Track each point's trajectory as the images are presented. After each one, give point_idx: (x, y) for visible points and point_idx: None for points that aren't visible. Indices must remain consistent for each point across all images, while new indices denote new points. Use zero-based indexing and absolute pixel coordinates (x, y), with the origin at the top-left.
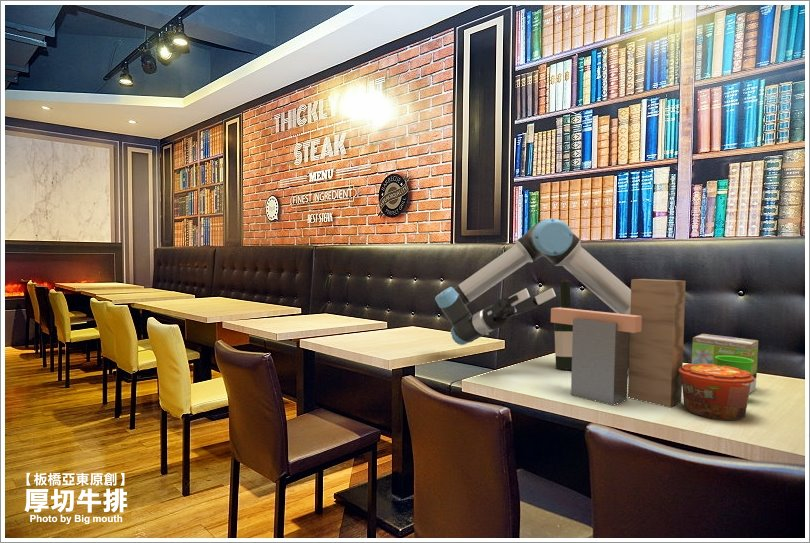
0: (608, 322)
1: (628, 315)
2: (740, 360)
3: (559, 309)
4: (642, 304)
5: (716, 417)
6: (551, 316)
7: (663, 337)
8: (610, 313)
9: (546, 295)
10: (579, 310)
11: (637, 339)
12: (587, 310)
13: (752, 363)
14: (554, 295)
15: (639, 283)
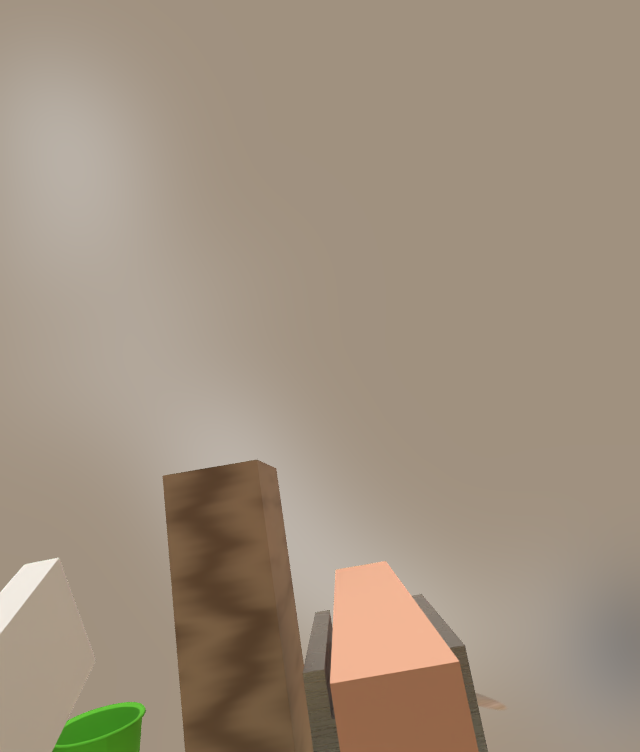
0: (418, 602)
1: (363, 569)
2: (62, 736)
3: (441, 639)
4: (275, 547)
5: None
6: (475, 746)
7: (297, 640)
8: (363, 581)
9: (15, 713)
10: (380, 611)
11: (292, 690)
12: (339, 612)
13: (111, 712)
14: (90, 651)
15: (263, 474)
